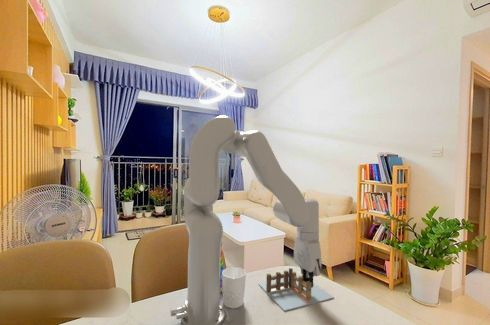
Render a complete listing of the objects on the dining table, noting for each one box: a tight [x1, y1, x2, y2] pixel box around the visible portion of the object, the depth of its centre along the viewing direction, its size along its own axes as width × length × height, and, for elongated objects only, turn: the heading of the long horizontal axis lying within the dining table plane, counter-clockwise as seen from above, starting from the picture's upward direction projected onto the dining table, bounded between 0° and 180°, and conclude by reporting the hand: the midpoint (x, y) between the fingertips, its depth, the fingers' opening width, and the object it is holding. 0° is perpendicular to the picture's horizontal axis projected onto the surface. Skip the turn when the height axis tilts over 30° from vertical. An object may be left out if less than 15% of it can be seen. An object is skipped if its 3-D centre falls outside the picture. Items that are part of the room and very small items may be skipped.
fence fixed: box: [266, 267, 294, 293], centre depth 89 cm, size 10×1×7 cm, turn 113°
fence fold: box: [291, 271, 312, 300], centre depth 86 cm, size 9×1×6 cm, turn 28°
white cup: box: [221, 266, 247, 309], centre depth 81 cm, size 8×8×10 cm
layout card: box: [258, 274, 335, 313], centre depth 89 cm, size 20×18×1 cm
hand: (307, 286), depth 86 cm, fingers closed
